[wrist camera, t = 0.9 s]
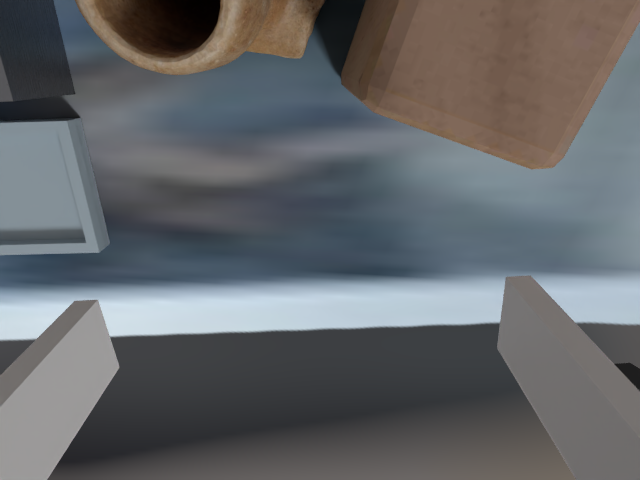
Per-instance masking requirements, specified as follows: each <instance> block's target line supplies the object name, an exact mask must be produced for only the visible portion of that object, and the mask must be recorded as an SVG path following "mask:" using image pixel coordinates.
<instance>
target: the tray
mask: <svg viewBox="0 0 640 480" xmlns="http://www.w3.org/2000/svg"><path fill="white" fill-rule="evenodd" d="M109 244H110V241H109V237H108V233H107V228H106V224H105V220H104V215H103V211H102V207H101V203H100V198H99V194H98V190H97V186H96V181H95V177H94V173H93V168H92V164H91V160H90V156H89V151H88V147H87V143H86V139H85V134H84V130H83V126H82V121H81V118H61V119H26V120H0V255H22V254H61V253H99V252H101V251H102V250H103V249H104V248H105V247H106V246H108V245H109Z"/></svg>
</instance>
